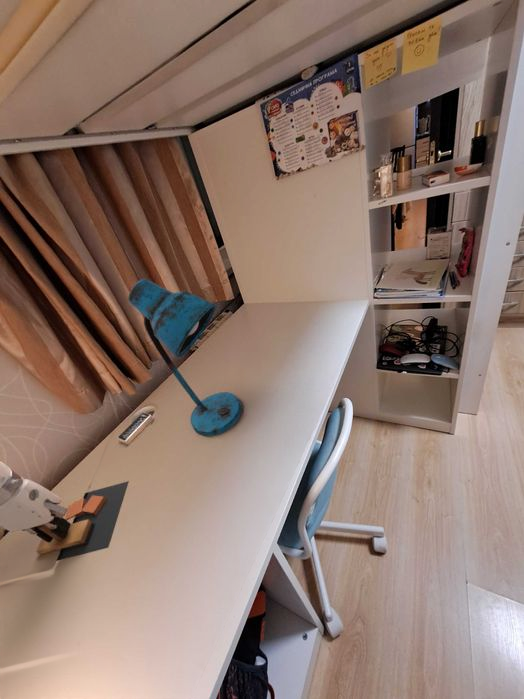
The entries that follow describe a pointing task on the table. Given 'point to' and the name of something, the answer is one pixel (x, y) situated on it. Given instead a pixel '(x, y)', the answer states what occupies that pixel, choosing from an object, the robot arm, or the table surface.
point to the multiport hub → (135, 428)
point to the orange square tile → (94, 505)
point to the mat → (100, 520)
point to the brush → (67, 537)
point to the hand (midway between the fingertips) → (59, 533)
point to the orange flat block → (75, 509)
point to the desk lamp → (184, 346)
